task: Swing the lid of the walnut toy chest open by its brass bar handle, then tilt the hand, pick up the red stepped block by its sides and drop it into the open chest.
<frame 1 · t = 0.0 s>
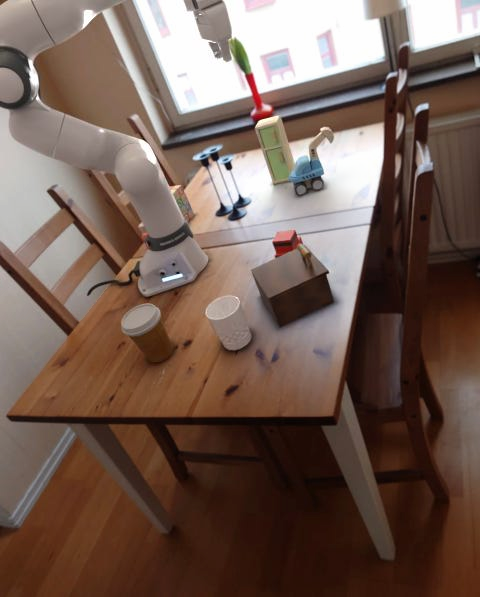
hand: (223, 59, 116), 48 cm above the table, tool pointing down, fingers open, 8 cm apart
white cup: (238, 340, 107), on the table
toy chest: (296, 299, 111), on the table
printed cardboard box: (173, 232, 165), on the table
toy refrigerator: (285, 179, 168), on the table
chest lid: (285, 265, 106), point 10 cm above the table, hinge at 0.0°
toy excavator: (318, 185, 155), on the table
disposable coffee cup: (161, 353, 113), on the table
red stepped block: (292, 260, 125), on the table
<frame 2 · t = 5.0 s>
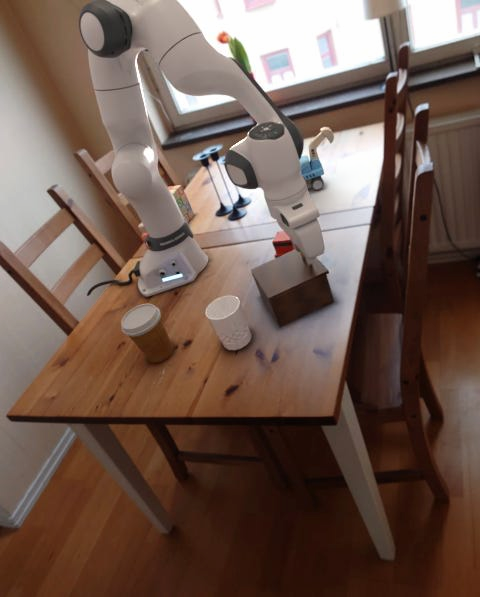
hand: (305, 255, 106), 10 cm above the table, tool pointing down, fingers closed on chest lid, 5 cm apart
chest lid: (285, 265, 106), point 10 cm above the table, hinge at 0.1°, touching gripper
everything else where it was.
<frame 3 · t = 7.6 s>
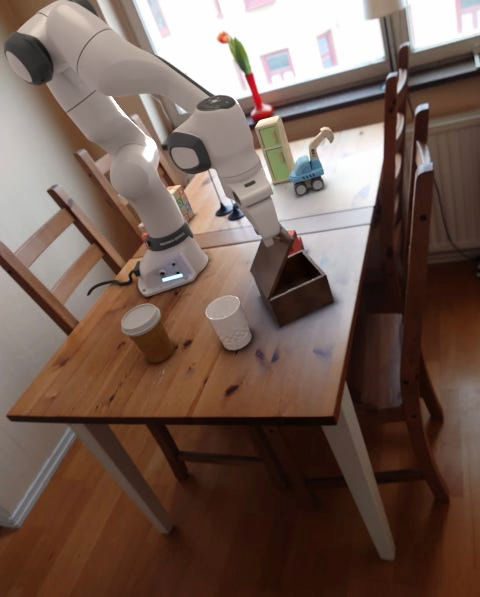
hand: (264, 238, 101), 18 cm above the table, tool pointing down, fingers closed on chest lid, 5 cm apart
chest lid: (263, 254, 103), point 15 cm above the table, hinge at 50.9°, touching gripper
everything else where it was.
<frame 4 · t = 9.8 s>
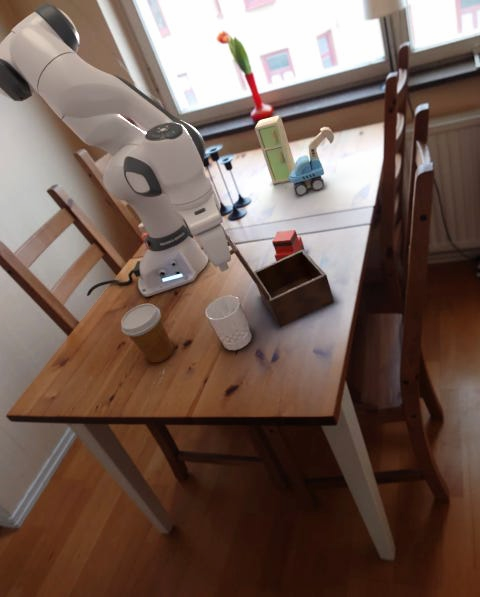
hand: (221, 262, 101), 18 cm above the table, tool pointing down, fingers closed on chest lid, 5 cm apart
chest lid: (237, 266, 103), point 15 cm above the table, hinge at 100.6°, touching gripper
everything else where it was.
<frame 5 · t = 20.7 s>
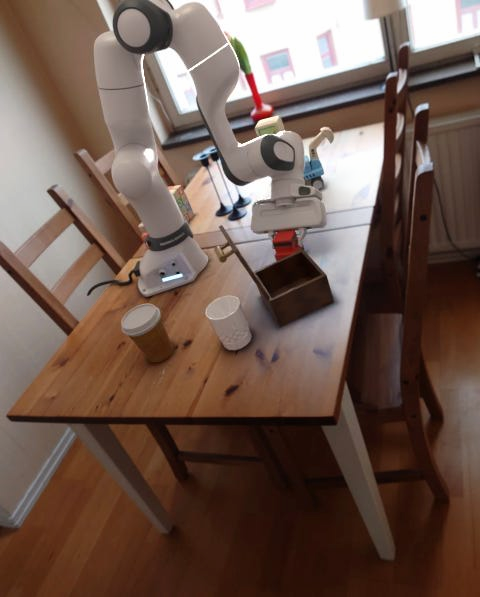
hand: (287, 247, 122), 4 cm above the table, tool tilted 45°, fingers closed on red stepped block, 5 cm apart
chest lid: (237, 266, 103), point 15 cm above the table, hinge at 100.6°
red stepped block: (292, 260, 125), on the table, touching gripper
everything else where it was.
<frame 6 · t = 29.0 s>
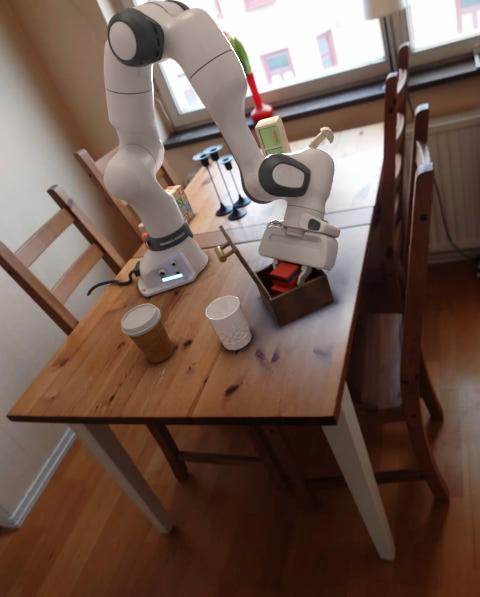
hand: (287, 282, 108), 6 cm above the table, tool tilted 45°, fingers closed on red stepped block, 5 cm apart
red stepped block: (294, 295, 111), point 1 cm above the table, touching gripper
everything else where it was.
when the fingers open (8 cm above the table, at t = 44.0 s): red stepped block drops 2 cm, resting on toy chest.
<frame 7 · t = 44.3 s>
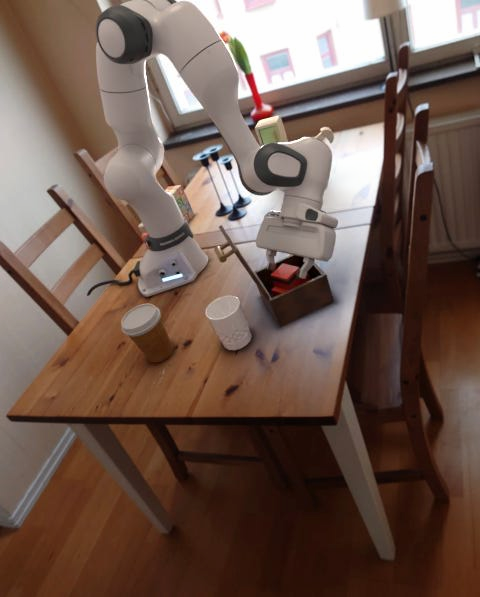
hand: (285, 274, 107), 8 cm above the table, tool tilted 45°, fingers open, 7 cm apart
red stepped block: (295, 296, 111), point 1 cm above the table, touching toy chest
everything else where it was.
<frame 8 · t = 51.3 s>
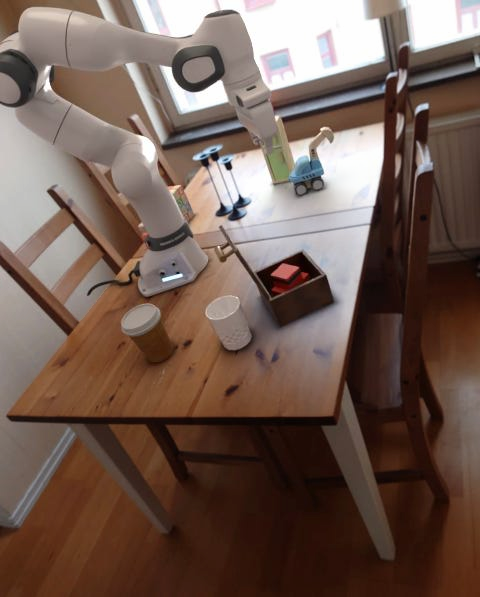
hand: (264, 148, 113), 29 cm above the table, tool pointing down, fingers open, 8 cm apart
nothing on the table moved.
at the end: chest lid at +101° (first picture: +0°); red stepped block inside the target area in the toy chest (0.1 cm from its centre), point 0.8 cm above the toy chest's base; red stepped block tilted 0° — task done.
